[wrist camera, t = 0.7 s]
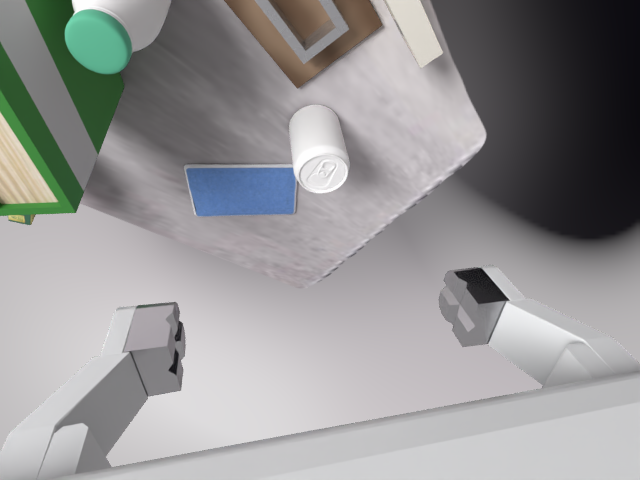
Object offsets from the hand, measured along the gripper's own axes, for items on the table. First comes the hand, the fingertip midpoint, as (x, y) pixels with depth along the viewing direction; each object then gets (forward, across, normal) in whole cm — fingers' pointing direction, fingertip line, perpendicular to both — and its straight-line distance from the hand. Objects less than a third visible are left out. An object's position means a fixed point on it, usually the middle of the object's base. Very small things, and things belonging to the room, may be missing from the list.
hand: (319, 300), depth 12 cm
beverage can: (+51, -10, +12) cm, 54 cm away
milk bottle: (+47, +11, -8) cm, 49 cm away
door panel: (+46, -19, -6) cm, 50 cm away
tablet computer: (+56, +2, +25) cm, 62 cm away
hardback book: (+49, +21, -3) cm, 54 cm away
